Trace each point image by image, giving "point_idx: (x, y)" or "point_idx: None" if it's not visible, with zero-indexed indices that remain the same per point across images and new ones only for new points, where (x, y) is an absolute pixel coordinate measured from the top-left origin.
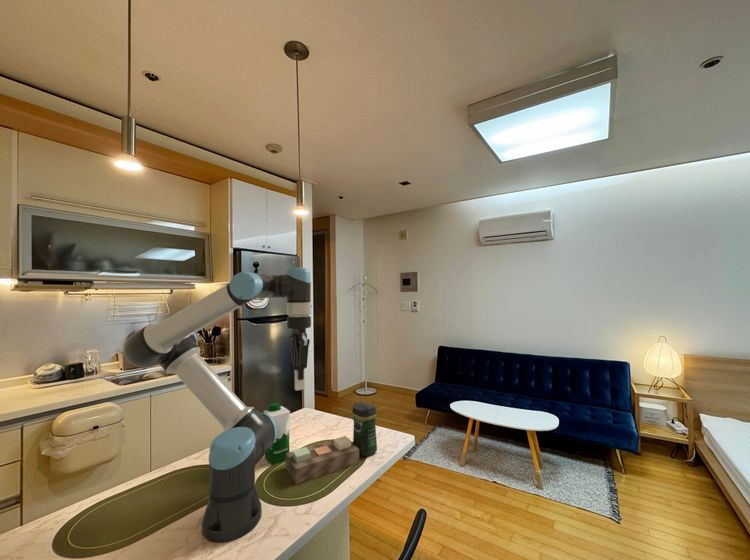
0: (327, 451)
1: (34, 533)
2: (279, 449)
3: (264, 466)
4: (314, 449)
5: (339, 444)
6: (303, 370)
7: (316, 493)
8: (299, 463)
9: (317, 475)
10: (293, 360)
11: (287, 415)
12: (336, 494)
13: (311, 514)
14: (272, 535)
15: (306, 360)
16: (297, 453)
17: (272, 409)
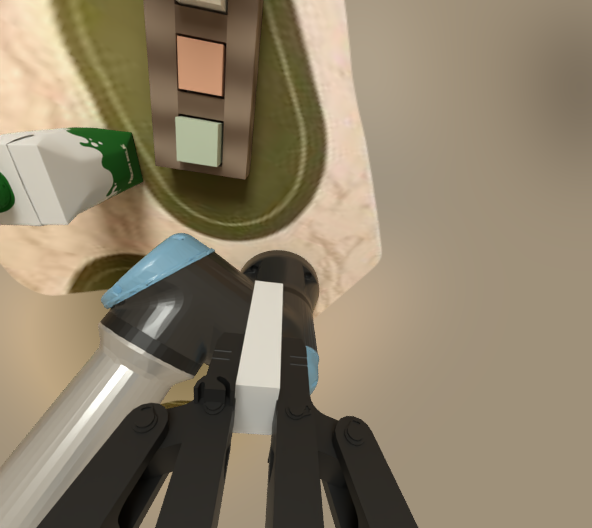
0: (217, 59)
1: None
2: (128, 171)
3: (139, 195)
4: (182, 88)
5: (221, 3)
6: (308, 396)
7: (306, 152)
8: (227, 160)
9: (253, 117)
10: (152, 502)
11: (52, 157)
12: (340, 119)
13: (351, 191)
14: (346, 255)
15: (407, 522)
16: (199, 156)
17: (2, 205)
